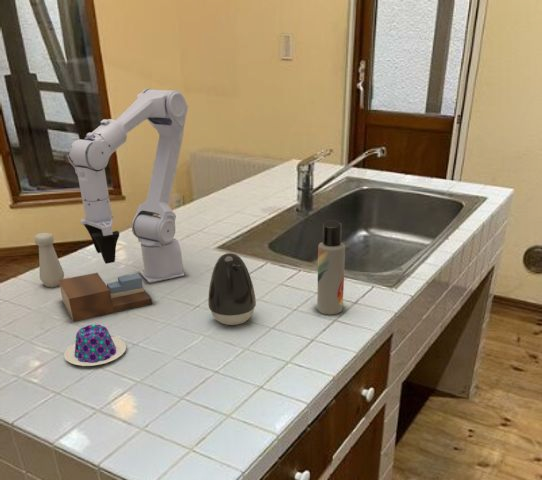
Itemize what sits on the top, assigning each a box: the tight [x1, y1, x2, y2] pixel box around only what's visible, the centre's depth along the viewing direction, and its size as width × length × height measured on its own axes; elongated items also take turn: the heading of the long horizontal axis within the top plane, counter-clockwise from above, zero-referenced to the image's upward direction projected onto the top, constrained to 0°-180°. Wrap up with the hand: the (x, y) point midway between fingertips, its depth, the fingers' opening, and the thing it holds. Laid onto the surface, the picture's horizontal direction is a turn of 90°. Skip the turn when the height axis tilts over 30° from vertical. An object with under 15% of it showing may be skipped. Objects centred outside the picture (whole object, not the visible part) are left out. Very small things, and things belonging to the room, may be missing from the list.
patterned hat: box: [63, 324, 127, 367], centre depth 120 cm, size 12×12×5 cm
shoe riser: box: [59, 272, 153, 322], centre depth 140 cm, size 18×12×6 cm, turn 117°
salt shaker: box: [34, 232, 65, 288], centre depth 149 cm, size 6×6×13 cm
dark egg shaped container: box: [207, 252, 257, 326], centre depth 129 cm, size 10×10×15 cm
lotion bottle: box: [316, 219, 346, 316], centre depth 131 cm, size 6×6×20 cm
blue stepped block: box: [106, 272, 145, 298], centre depth 142 cm, size 8×3×4 cm, turn 117°
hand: (105, 257), depth 139 cm, fingers open, 7 cm apart
